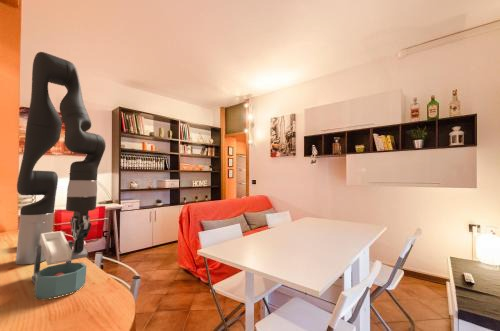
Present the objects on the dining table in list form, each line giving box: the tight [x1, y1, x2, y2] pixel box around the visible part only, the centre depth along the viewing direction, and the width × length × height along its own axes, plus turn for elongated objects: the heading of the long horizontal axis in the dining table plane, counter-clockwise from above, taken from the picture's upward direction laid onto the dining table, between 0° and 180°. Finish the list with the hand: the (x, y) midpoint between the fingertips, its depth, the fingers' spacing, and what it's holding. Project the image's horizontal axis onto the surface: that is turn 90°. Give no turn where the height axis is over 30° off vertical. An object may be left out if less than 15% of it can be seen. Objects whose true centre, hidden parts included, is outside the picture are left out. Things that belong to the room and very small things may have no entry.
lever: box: [40, 230, 88, 266], centre depth 70 cm, size 15×9×6 cm, turn 50°
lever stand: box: [31, 240, 74, 286], centre depth 69 cm, size 5×9×10 cm, turn 141°
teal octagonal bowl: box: [33, 262, 87, 300], centre depth 62 cm, size 10×10×6 cm
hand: (78, 251), depth 69 cm, fingers closed
